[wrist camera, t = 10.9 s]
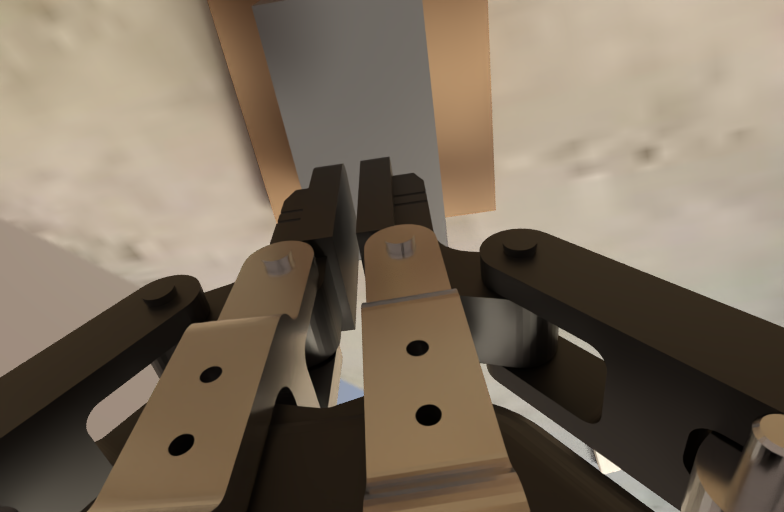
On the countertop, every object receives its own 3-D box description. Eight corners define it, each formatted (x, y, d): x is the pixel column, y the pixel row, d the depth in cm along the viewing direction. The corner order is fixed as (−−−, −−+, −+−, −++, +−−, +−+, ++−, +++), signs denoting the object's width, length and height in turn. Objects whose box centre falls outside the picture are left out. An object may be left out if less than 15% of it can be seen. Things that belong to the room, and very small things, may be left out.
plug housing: (280, -13, 18) (251, 6, 14) (408, -35, 18) (419, -24, 13) (332, 202, 23) (322, 265, 18) (434, 187, 22) (448, 247, 18)
